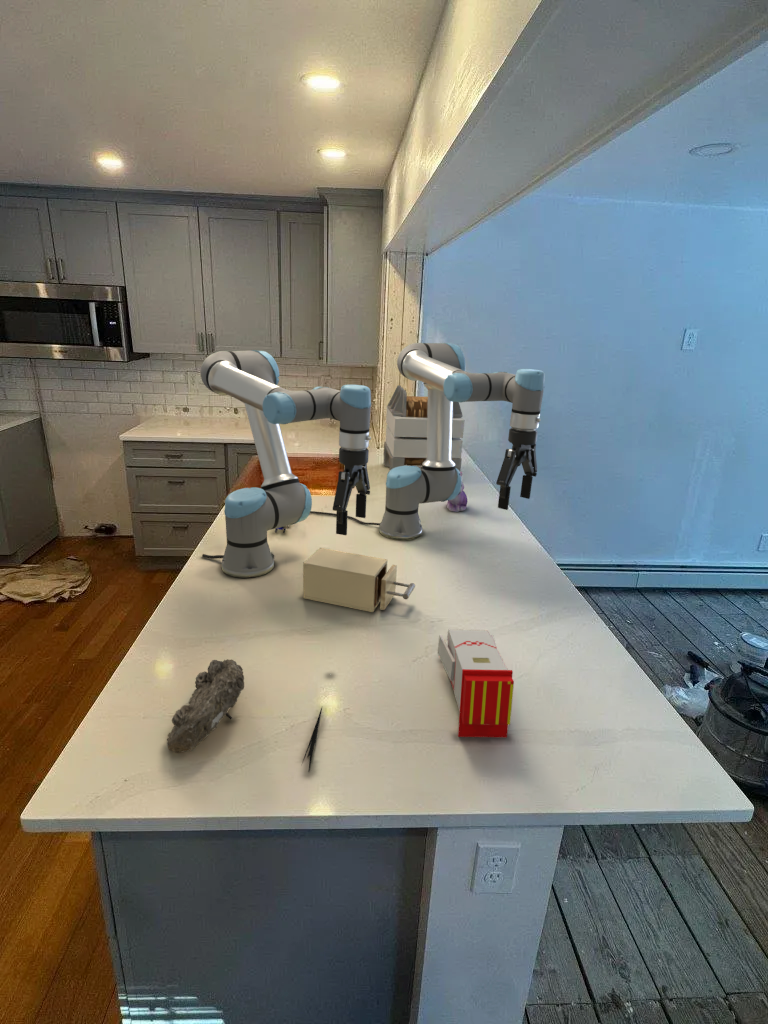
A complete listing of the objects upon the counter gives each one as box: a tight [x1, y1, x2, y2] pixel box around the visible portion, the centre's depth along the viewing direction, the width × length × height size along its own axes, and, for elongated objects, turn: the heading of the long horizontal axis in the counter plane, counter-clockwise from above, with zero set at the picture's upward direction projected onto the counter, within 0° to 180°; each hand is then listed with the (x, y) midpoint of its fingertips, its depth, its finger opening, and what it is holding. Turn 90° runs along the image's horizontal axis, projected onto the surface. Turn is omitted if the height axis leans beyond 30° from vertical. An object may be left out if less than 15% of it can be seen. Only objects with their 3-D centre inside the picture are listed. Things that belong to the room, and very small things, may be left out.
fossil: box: [166, 658, 245, 754], centre depth 106 cm, size 22×10×15 cm
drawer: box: [374, 564, 416, 611], centre depth 152 cm, size 25×10×9 cm, turn 72°
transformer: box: [383, 384, 465, 472], centre depth 268 cm, size 34×33×41 cm
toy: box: [437, 628, 515, 738], centre depth 117 cm, size 12×13×30 cm
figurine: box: [446, 471, 468, 512], centre depth 225 cm, size 9×10×15 cm
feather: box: [301, 673, 332, 771], centre depth 108 cm, size 2×28×2 cm
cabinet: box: [302, 547, 388, 613], centre depth 154 cm, size 20×11×11 cm, turn 72°
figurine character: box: [274, 525, 290, 534], centre depth 199 cm, size 7×8×15 cm
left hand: (351, 525), depth 151 cm, fingers open, 13 cm apart
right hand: (514, 503), depth 160 cm, fingers open, 13 cm apart
